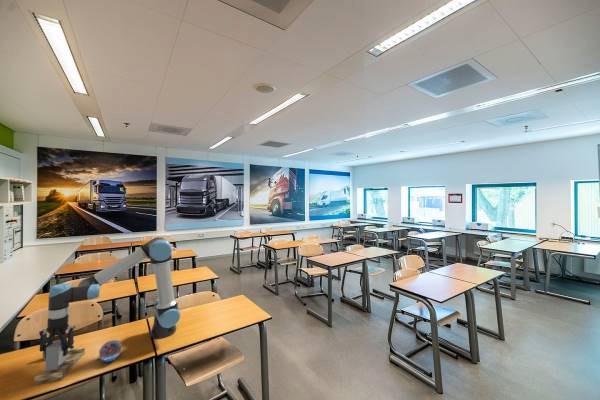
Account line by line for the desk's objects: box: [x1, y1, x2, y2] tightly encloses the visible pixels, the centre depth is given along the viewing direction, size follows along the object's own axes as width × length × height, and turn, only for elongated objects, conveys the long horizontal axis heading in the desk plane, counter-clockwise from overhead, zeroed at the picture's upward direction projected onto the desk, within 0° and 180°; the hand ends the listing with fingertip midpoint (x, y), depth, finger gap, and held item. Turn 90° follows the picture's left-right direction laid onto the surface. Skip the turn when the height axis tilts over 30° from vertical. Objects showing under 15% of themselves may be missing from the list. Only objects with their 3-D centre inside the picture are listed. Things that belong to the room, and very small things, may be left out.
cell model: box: [98, 339, 123, 363], centre depth 134 cm, size 10×12×10 cm
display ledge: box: [33, 347, 86, 385], centre depth 127 cm, size 10×22×3 cm, turn 18°
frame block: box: [44, 339, 66, 371], centre depth 122 cm, size 5×7×11 cm
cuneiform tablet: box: [42, 339, 75, 362], centre depth 136 cm, size 7×4×12 cm
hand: (55, 363), depth 122 cm, fingers closed on frame block, 5 cm apart
